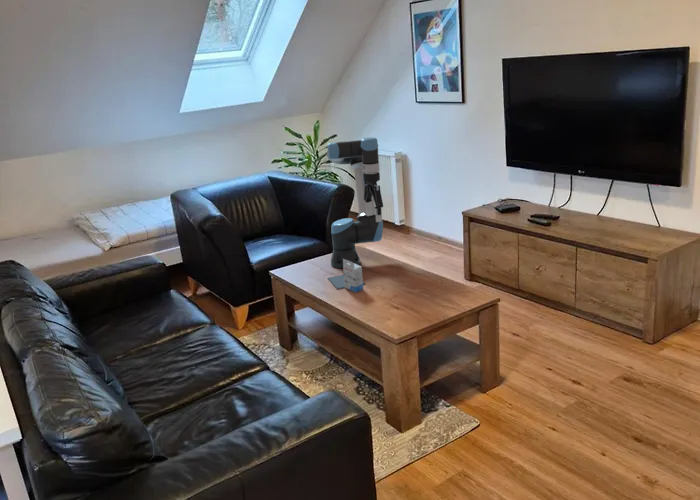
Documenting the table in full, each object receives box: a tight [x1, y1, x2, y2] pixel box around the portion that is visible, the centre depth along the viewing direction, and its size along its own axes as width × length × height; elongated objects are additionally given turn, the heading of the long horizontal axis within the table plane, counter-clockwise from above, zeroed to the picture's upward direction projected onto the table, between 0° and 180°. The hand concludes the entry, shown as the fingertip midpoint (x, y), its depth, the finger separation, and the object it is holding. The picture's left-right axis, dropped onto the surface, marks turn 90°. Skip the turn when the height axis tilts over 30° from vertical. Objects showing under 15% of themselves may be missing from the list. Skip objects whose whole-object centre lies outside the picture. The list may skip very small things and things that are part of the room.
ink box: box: [342, 259, 364, 293], centre depth 295 cm, size 8×5×15 cm, turn 39°
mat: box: [326, 274, 366, 290], centre depth 308 cm, size 16×14×1 cm
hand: (374, 218), depth 296 cm, fingers open, 11 cm apart
